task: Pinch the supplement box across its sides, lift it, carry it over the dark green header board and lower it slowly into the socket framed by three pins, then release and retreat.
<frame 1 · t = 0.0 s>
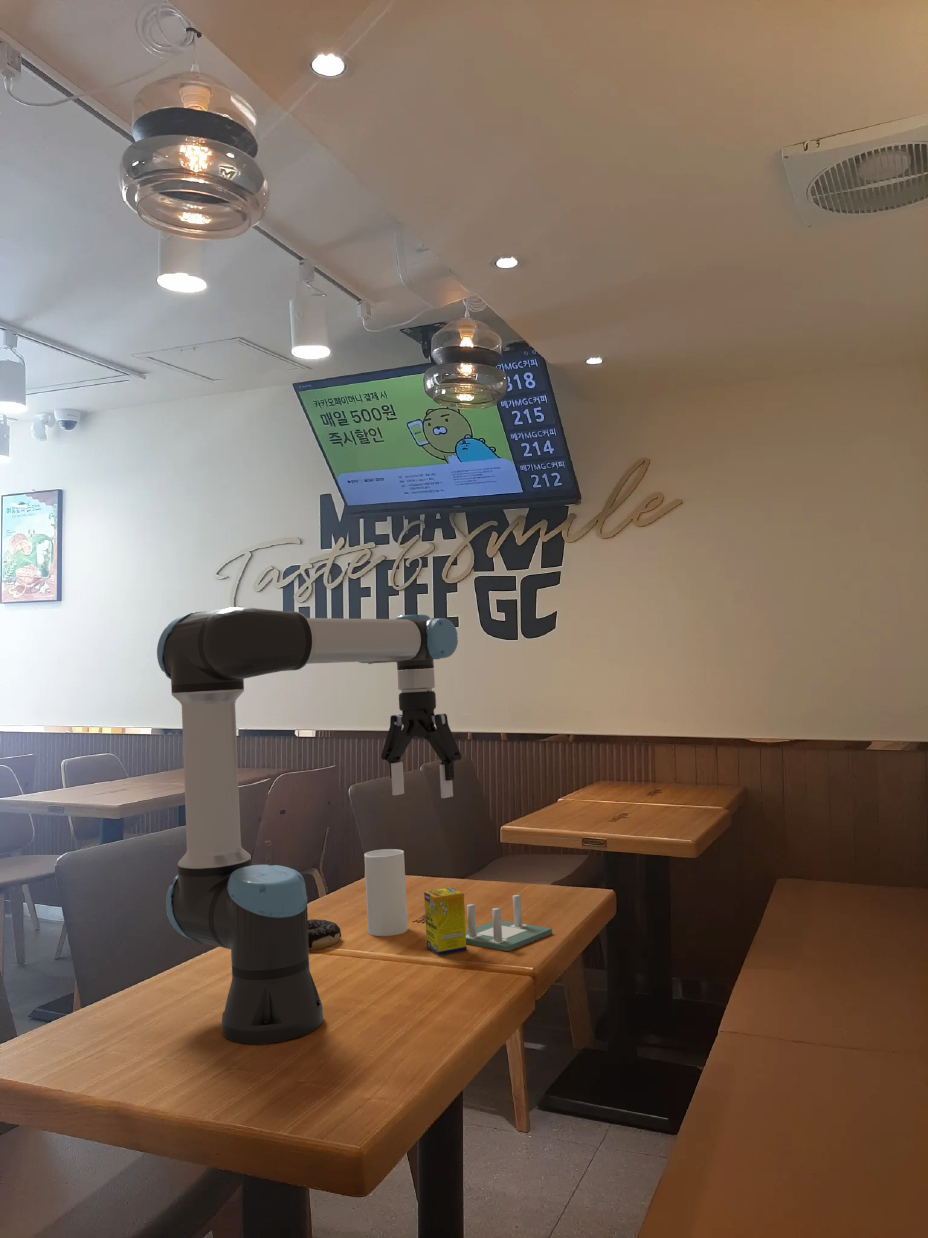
hand: (422, 796, 194), 28 cm above the table, fingers open, 13 cm apart
header board: (502, 937, 189), on the table
donut: (313, 945, 193), on the table
cup: (387, 932, 199), on the table
supplement box: (446, 951, 182), on the table
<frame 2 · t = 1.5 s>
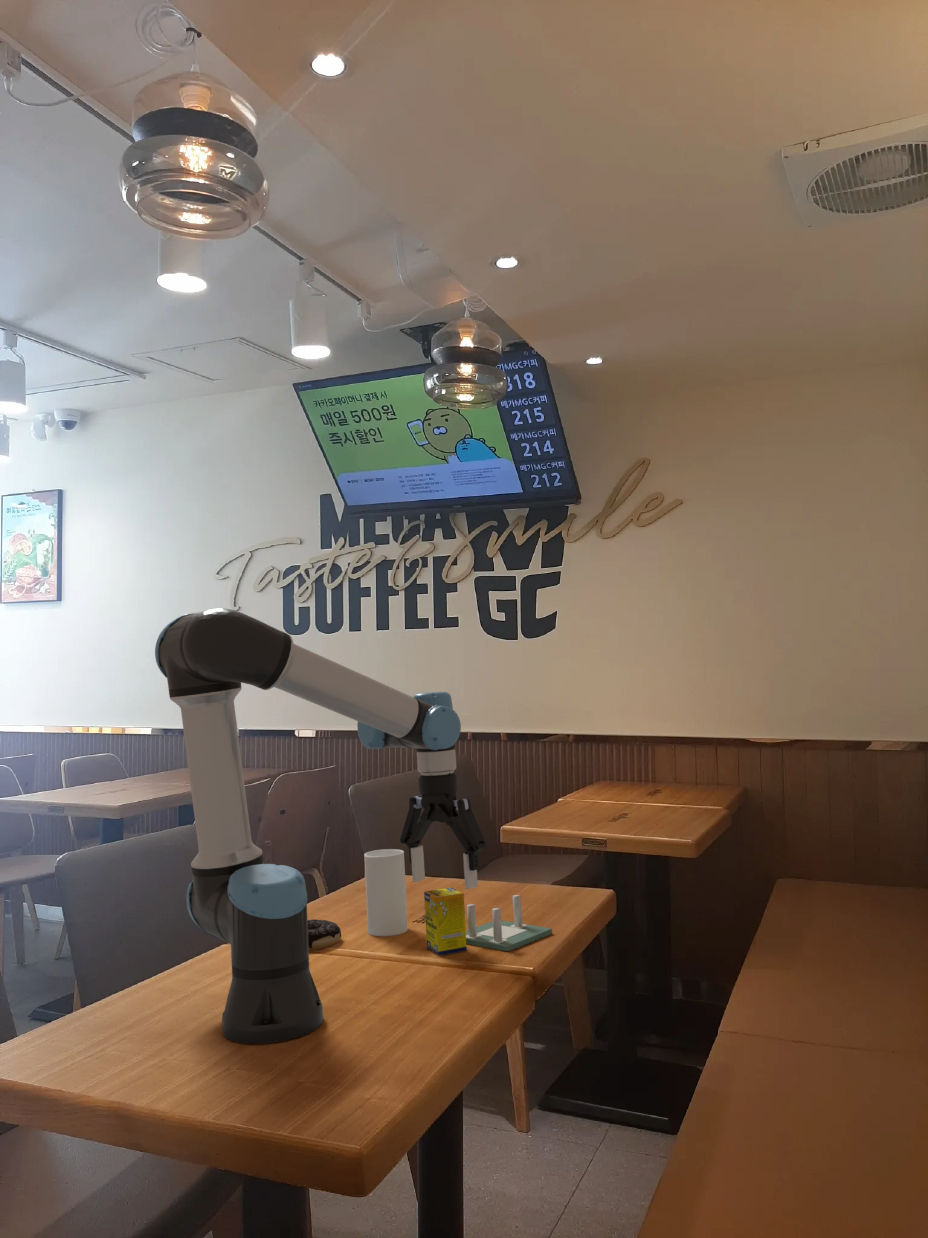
hand: (444, 884, 183), 12 cm above the table, fingers open, 13 cm apart
nothing on the table moved.
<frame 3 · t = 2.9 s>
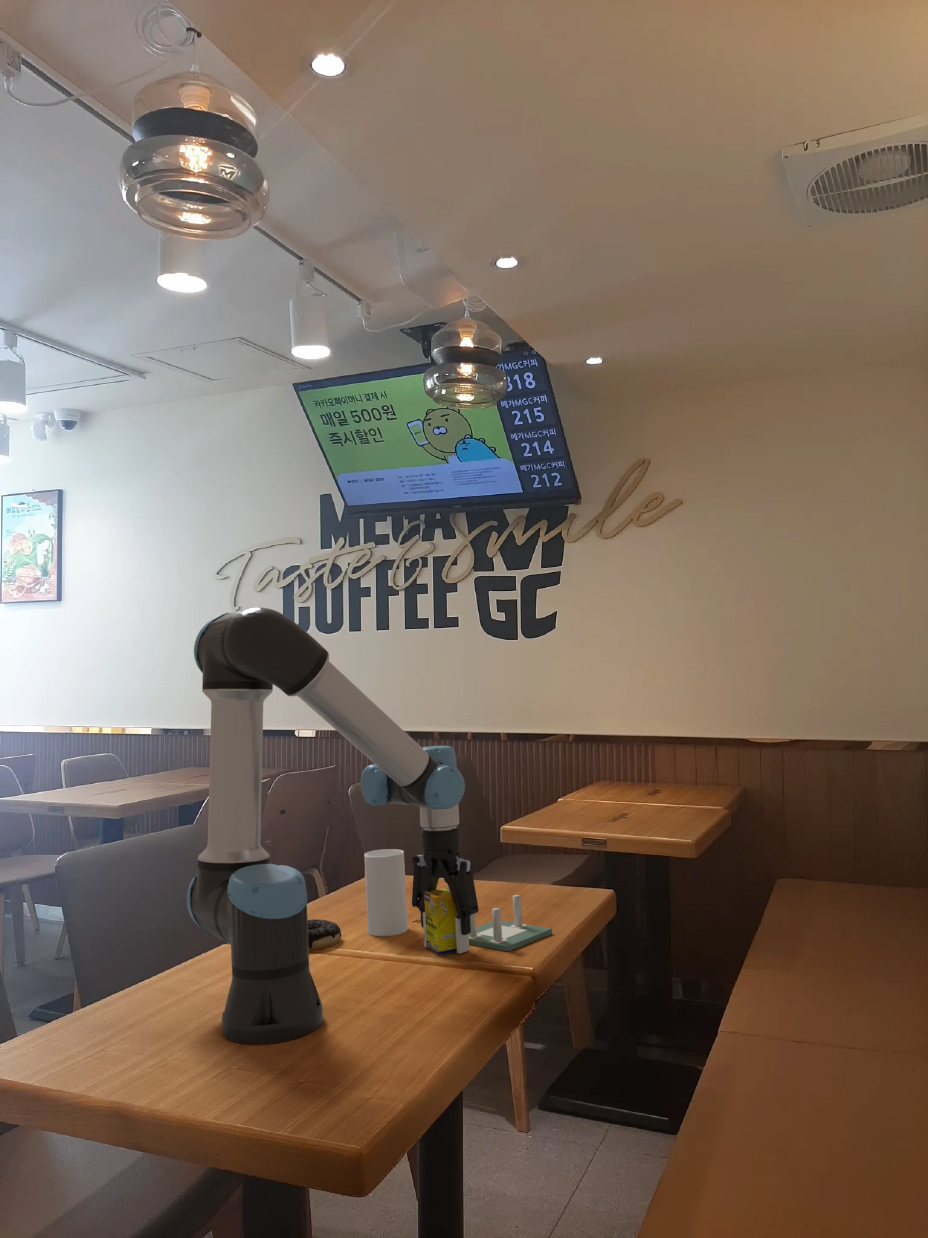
hand: (446, 948, 183), 0 cm above the table, fingers closed on supplement box, 8 cm apart
supplement box: (446, 951, 182), on the table, touching gripper
everything else where it was.
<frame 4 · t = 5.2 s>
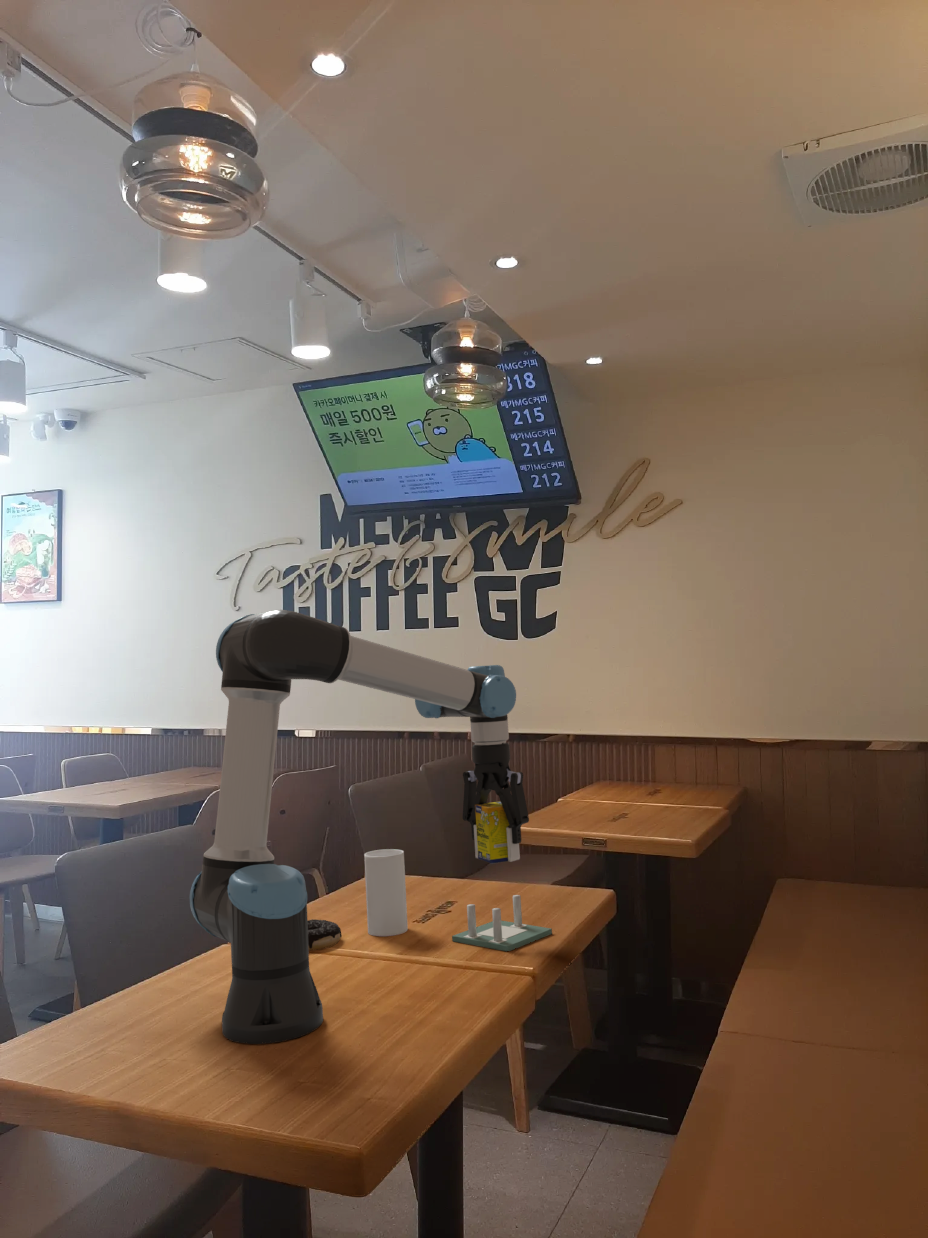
hand: (497, 858, 190), 15 cm above the table, fingers closed on supplement box, 8 cm apart
supplement box: (497, 861, 190), point 15 cm above the table, touching gripper
everything else where it was.
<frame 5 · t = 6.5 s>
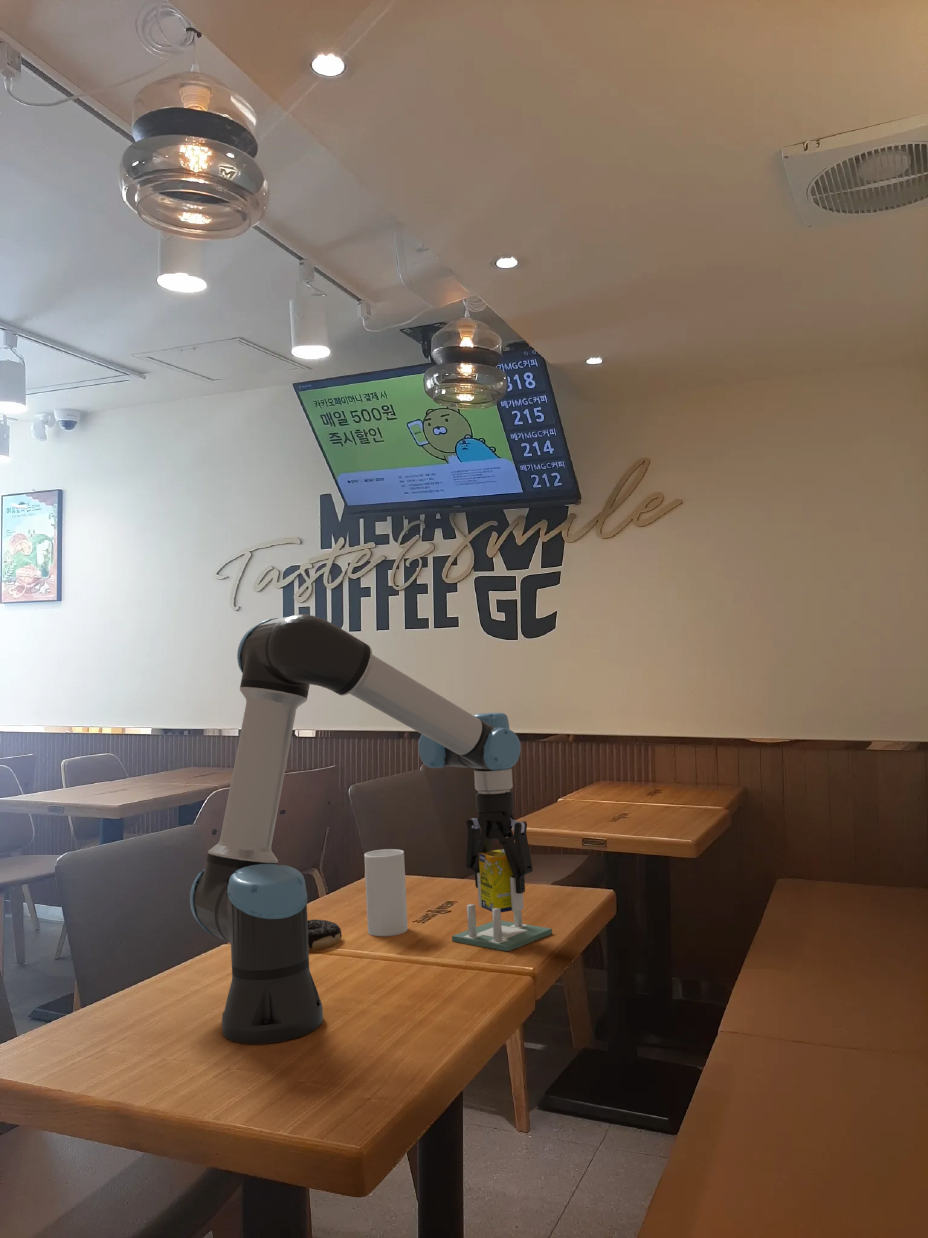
hand: (501, 907, 189), 6 cm above the table, fingers closed on supplement box, 8 cm apart
supplement box: (501, 909, 189), point 5 cm above the table, touching gripper
everything else where it was.
when the fingers open (3 cm above the table, at t = 7.5 s): supplement box drops 1 cm, resting on header board.
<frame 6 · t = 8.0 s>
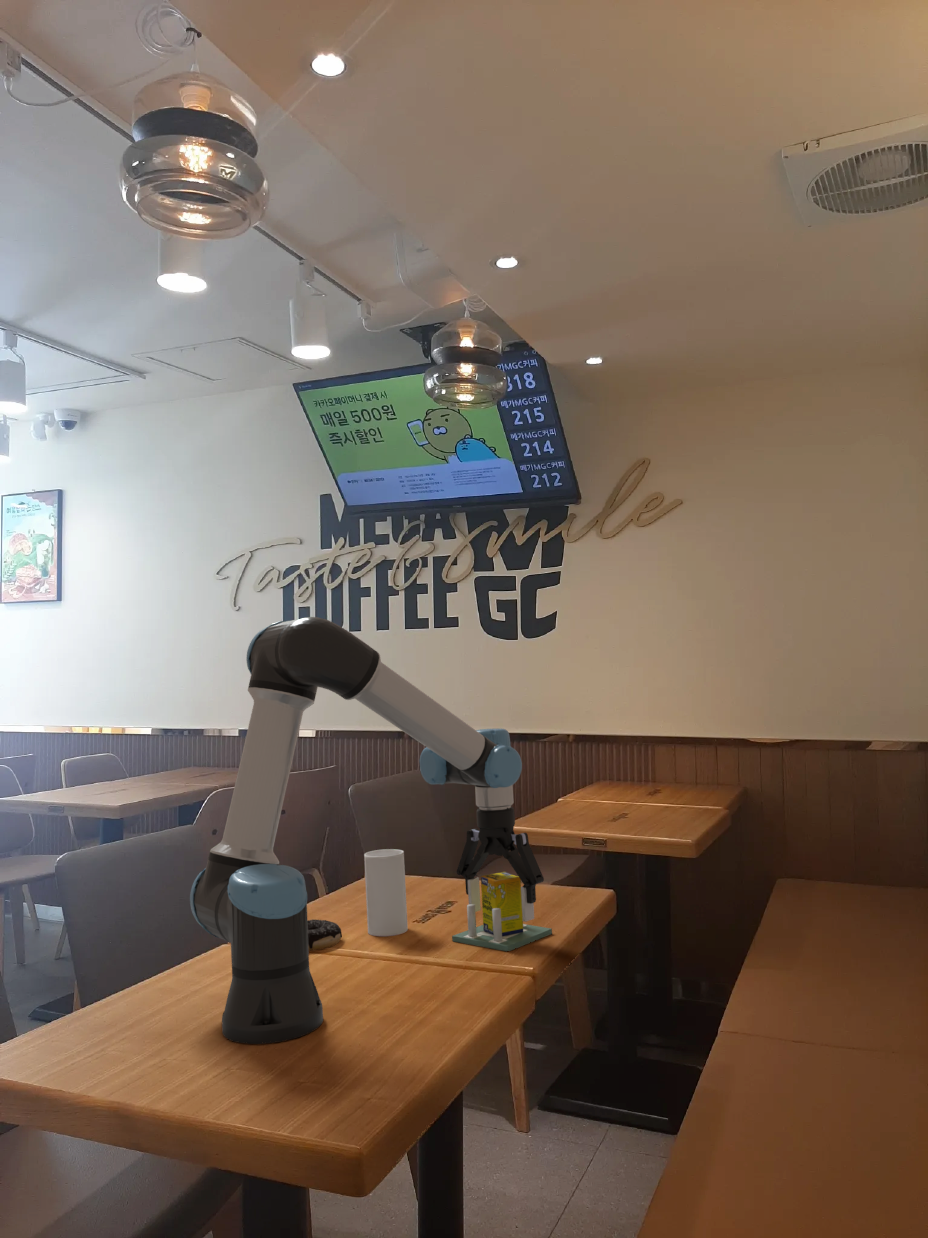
hand: (501, 916, 189), 4 cm above the table, fingers open, 13 cm apart
supplement box: (503, 933, 189), point 1 cm above the table, touching header board
everything else where it was.
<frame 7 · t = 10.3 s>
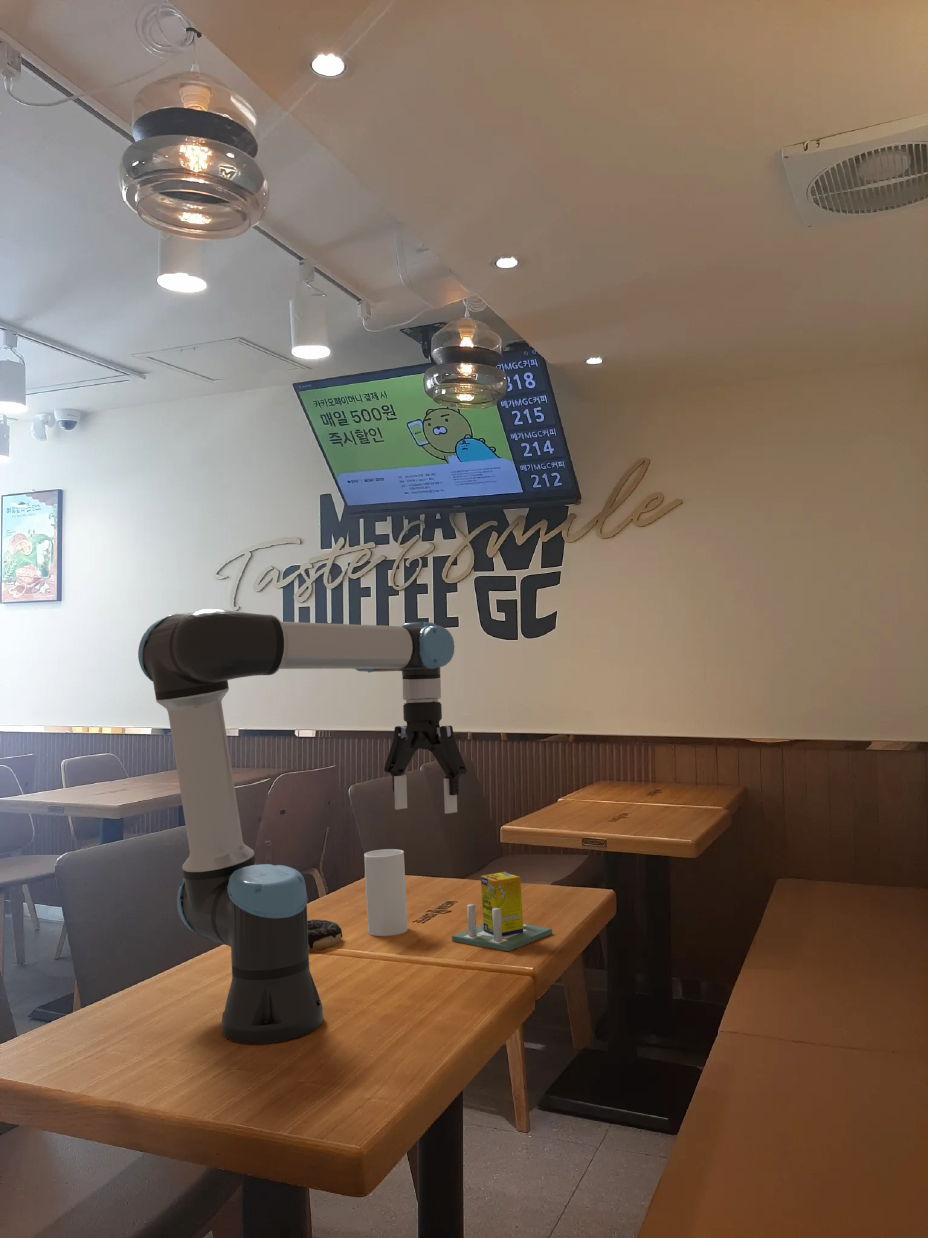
hand: (425, 811, 187), 26 cm above the table, fingers open, 13 cm apart
nothing on the table moved.
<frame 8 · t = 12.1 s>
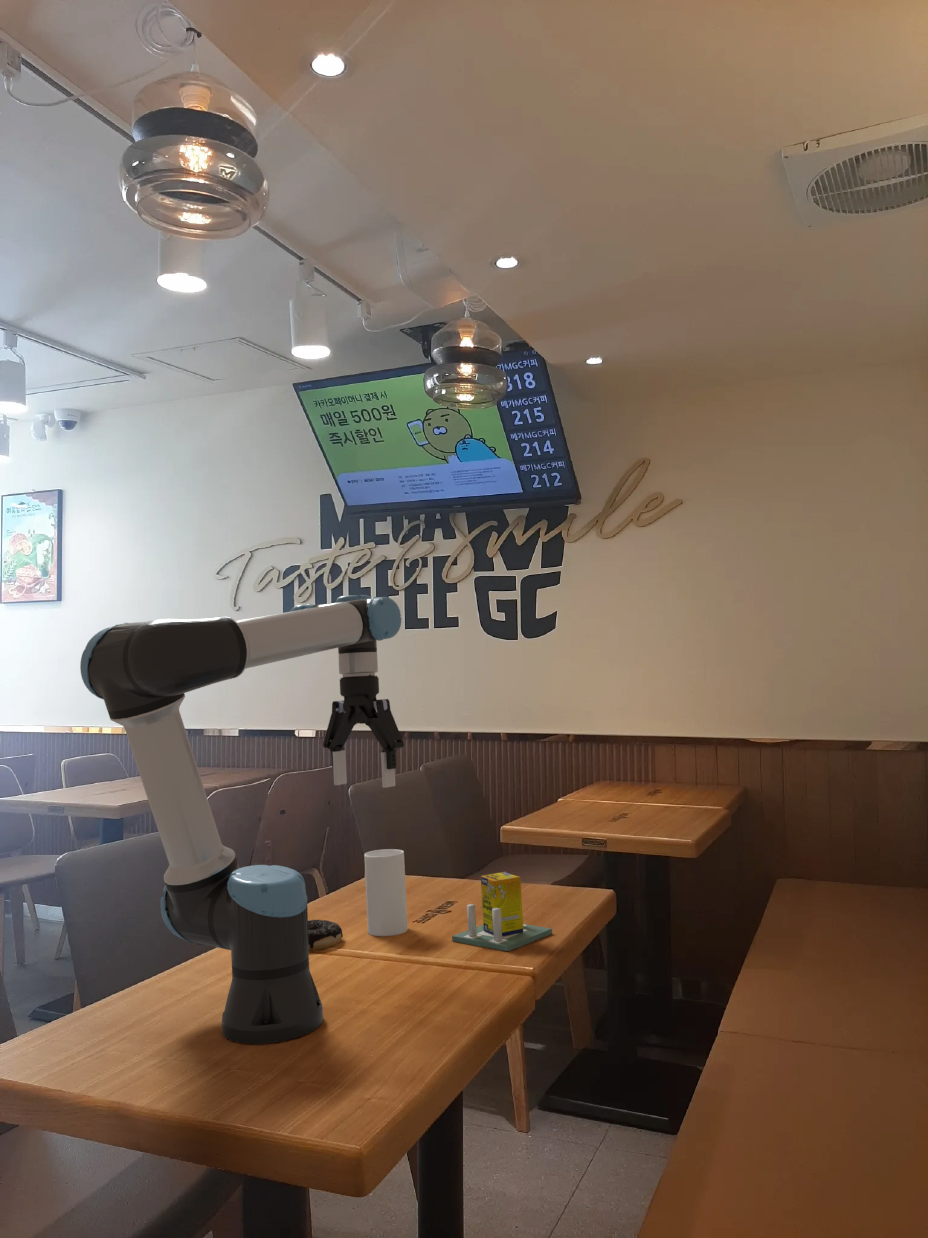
hand: (364, 785, 185), 32 cm above the table, fingers open, 13 cm apart
nothing on the table moved.
at the end: supplement box 0.4 cm off-centre on the header board, point 0.9 cm above the header board's base; supplement box tilted 0°; the gripper is holding nothing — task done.
